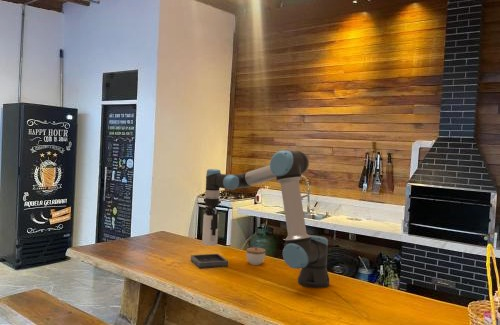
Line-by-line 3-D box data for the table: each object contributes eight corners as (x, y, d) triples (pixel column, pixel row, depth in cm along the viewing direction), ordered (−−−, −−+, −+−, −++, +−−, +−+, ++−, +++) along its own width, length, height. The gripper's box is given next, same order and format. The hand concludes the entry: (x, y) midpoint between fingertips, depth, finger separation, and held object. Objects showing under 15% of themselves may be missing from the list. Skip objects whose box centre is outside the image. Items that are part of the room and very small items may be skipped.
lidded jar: (257, 267, 230) (258, 250, 229) (241, 263, 236) (242, 246, 236) (268, 263, 238) (269, 247, 238) (253, 259, 245) (254, 243, 244)
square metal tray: (228, 266, 228) (228, 261, 228) (199, 268, 222) (199, 263, 222) (217, 258, 243) (218, 253, 243) (190, 260, 236) (190, 255, 236)
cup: (216, 245, 228) (218, 216, 227) (201, 245, 228) (202, 215, 227) (217, 242, 236) (219, 213, 235) (203, 241, 236) (204, 212, 236)
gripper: (225, 200, 223) (223, 243, 224) (212, 195, 242) (210, 234, 243) (211, 200, 220) (209, 244, 221) (199, 195, 239) (197, 235, 240)
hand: (209, 239), depth 232 cm, fingers closed on cup, 8 cm apart
